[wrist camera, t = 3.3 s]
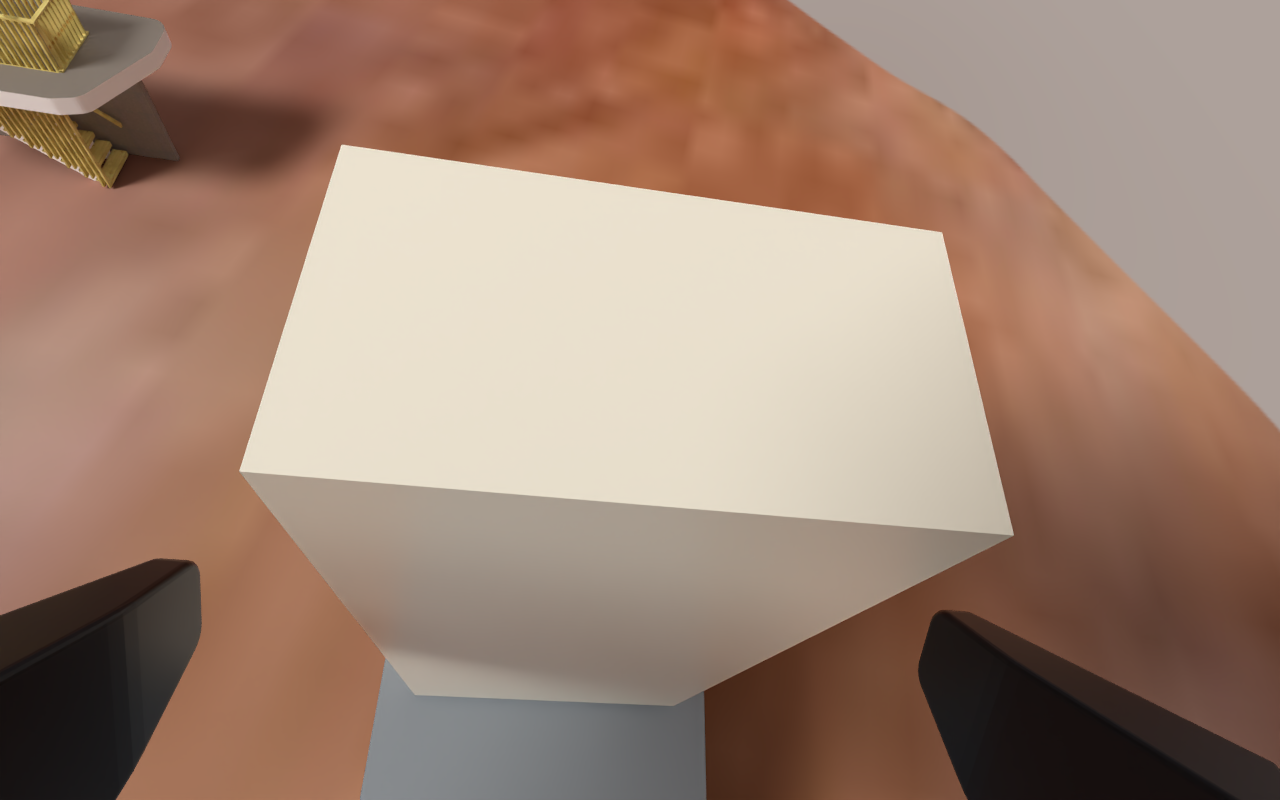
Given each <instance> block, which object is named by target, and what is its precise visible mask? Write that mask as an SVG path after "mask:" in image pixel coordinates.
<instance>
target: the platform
mask: <svg viewBox="0 0 1280 800" xmlns="http://www.w3.org/2000/svg"><path fill="white" fill-rule="evenodd" d="M171 46H172V45H171V42H170V39H169V37H168V35H167V32H166V30H165V28H164V25H163V24H162V23H161V22H159V21H158V20H155V19H151V18H145V17H139V16H134V15H128V14H122V13H116V12H110V11H105V10H99V9H93V8H87V7H82V6H76V5H71V3H70V1H69V0H0V135H5V136H11V138H13V137H14V138H16V139H18V140H20V141H21V142H23V143H25V144H27V145H29V146H30V148H34V149H36V150H38V151H40V152H42V153H44V154H46V155H47V156H48V157H49V158H53V159H55V160H57V161H58V162H60V163H62V164H64V165H66V166H67V167H68V168H71V169H73V170H75V171H77V172H79V173H81V174H83V175H84V176H85V177H86V178H90V179H92V180H94V181H100V183H101V185H102V186H103V187H105V186H106V184H107V185H108V187H109V188H111V187H112V185H113V183H114V181H115V179H116V178H117V176H118V174H119V172H120V170H121V168H122V166H123V164H124V163H125V161H126V159H127V157H128V154H133V155H140V156H146V157H153V158H160V159H167V160H173V161H178V160H179V158H180V157H179V155H178V153H177V151H176V149H175V147H174V145H173V143H172V141H171V139H170V137H169V135H168V133H167V131H166V129H165V127H164V125H163V123H162V121H161V119H160V117H159V115H158V113H157V110H156V108H155V106H154V104H153V102H152V100H151V98H150V96H149V94H148V92H147V90H146V88H145V86H144V84H143V82H142V79H144V78H145V77H147V76H149V75H150V74H152V73H153V72H155V71H156V70H158V69H159V68H160V67H161V65H162V64H163V62H164V60H165V58H166V56H167V54H168V53H169V51H170V49H171ZM44 142H45V143H44ZM45 144H46V145H45ZM65 147H66V148H67V150H66V148H65ZM110 151H111V152H110ZM62 152H63V153H64V154H63V153H62ZM86 152H87V154H86ZM83 156H84V158H85V159H84V158H83ZM104 159H107V160H106V162H105V164H104V166H103V168H101V165H102V163H103V161H104ZM81 162H82V164H81ZM98 171H99V172H100V173H98Z"/></svg>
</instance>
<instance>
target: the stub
mask: <svg viewBox="0 0 1280 800" xmlns="http://www.w3.org/2000/svg"><path fill="white" fill-rule="evenodd" d="M239 472H240V473H241V474H242V475H243V477H244V478H245V479H246V481H247V482H248V483H249V484H250V486H251V487H252V488H253V489H254V491H255V492H256V493H257V495H258V496H259V497H260V498H261V500H262V501H263V502H264V503H265V505H266V506H267V507H268V509H269V510H270V511H271V512H272V514H273V515H274V516H275V517H276V519H277V520H278V521H279V523H280V524H281V525H282V526H283V528H284V529H285V530H286V532H287V533H288V534H289V535H290V537H291V538H292V539H293V540H294V542H295V543H296V544H297V546H298V547H299V548H300V549H301V551H302V552H303V553H304V554H305V556H306V557H307V558H308V560H309V561H310V562H311V563H312V565H313V566H314V567H315V568H316V570H317V571H318V572H319V574H320V575H321V576H322V577H323V579H324V580H325V581H326V582H327V584H328V585H329V586H330V588H331V589H332V590H333V591H334V593H335V594H336V595H337V596H338V598H339V599H340V600H341V602H342V603H343V604H344V605H345V607H346V608H347V609H348V610H349V612H350V613H351V614H352V616H353V617H354V618H355V619H356V621H357V622H358V623H359V624H360V626H361V627H362V628H363V630H364V631H365V632H366V633H367V635H368V636H369V637H370V638H371V640H372V641H373V642H374V644H375V645H376V646H377V647H378V649H379V650H380V651H381V652H382V654H383V655H384V656H385V658H386V659H387V660H388V661H389V663H390V664H391V665H392V667H393V668H394V669H395V670H396V672H397V673H398V674H399V675H400V677H401V678H402V679H403V681H404V682H405V683H406V684H407V686H408V687H409V688H410V689H411V691H412V692H413V693H414V695H425V696H448V697H472V698H495V699H519V700H542V701H566V702H589V703H613V704H637V705H660V706H675V705H677V704H679V703H681V702H683V701H685V700H687V699H689V698H691V697H693V696H695V695H697V694H699V693H701V692H702V691H704V690H706V689H708V688H710V687H712V686H714V685H716V684H718V683H720V682H722V681H724V680H726V679H728V678H730V677H732V676H734V675H736V674H738V673H740V672H742V671H744V670H746V669H748V668H750V667H752V666H754V665H756V664H758V663H760V662H762V661H764V660H766V659H768V658H770V657H772V656H774V655H776V654H778V653H780V652H782V651H784V650H786V649H788V648H790V647H792V646H794V645H796V644H798V643H800V642H802V641H804V640H806V639H808V638H810V637H812V636H814V635H816V634H818V633H820V632H822V631H824V630H826V629H828V628H830V627H832V626H834V625H836V624H838V623H840V622H842V621H844V620H846V619H848V618H850V617H852V616H854V615H856V614H858V613H860V612H862V611H864V610H866V609H868V608H870V607H872V606H874V605H876V604H878V603H880V602H882V601H884V600H886V599H888V598H890V597H892V596H894V595H896V594H898V593H900V592H902V591H904V590H906V589H908V588H910V587H912V586H914V585H916V584H918V583H920V582H922V581H924V580H926V579H928V578H930V577H932V576H934V575H936V574H938V573H940V572H942V571H944V570H946V569H948V568H950V567H952V566H954V565H956V564H958V563H960V562H962V561H964V560H966V559H968V558H970V557H972V556H974V555H976V554H978V553H980V552H982V551H984V550H986V549H988V548H990V547H992V546H994V545H996V544H998V543H1000V542H1002V541H1004V540H1006V539H1008V538H1010V537H1012V536H1014V533H1013V529H1012V525H1011V521H1010V517H1009V512H1008V508H1007V504H1006V500H1005V496H1004V491H1003V487H1002V483H1001V479H1000V475H999V470H998V466H997V462H996V458H995V454H994V449H993V445H992V441H991V437H990V433H989V428H988V424H987V420H986V416H985V412H984V407H983V403H982V399H981V395H980V391H979V386H978V382H977V378H976V374H975V370H974V365H973V361H972V357H971V353H970V349H969V344H968V340H967V336H966V332H965V327H964V323H963V319H962V315H961V311H960V306H959V302H958V298H957V294H956V290H955V285H954V281H953V277H952V273H951V269H950V264H949V260H948V256H947V252H946V248H945V243H944V239H943V235H942V232H935V231H929V230H922V229H915V228H908V227H901V226H894V225H888V224H881V223H874V222H867V221H860V220H853V219H847V218H840V217H833V216H826V215H819V214H812V213H805V212H799V211H792V210H785V209H778V208H771V207H764V206H758V205H751V204H744V203H737V202H730V201H723V200H717V199H710V198H703V197H696V196H689V195H682V194H676V193H669V192H662V191H655V190H648V189H641V188H634V187H628V186H621V185H614V184H607V183H600V182H593V181H587V180H580V179H573V178H566V177H559V176H552V175H546V174H539V173H532V172H525V171H518V170H511V169H505V168H498V167H491V166H484V165H477V164H470V163H464V162H457V161H450V160H443V159H436V158H429V157H422V156H416V155H409V154H402V153H395V152H388V151H381V150H375V149H368V148H361V147H354V146H347V145H341V148H340V151H339V154H338V158H337V161H336V164H335V167H334V170H333V174H332V177H331V180H330V183H329V186H328V190H327V193H326V196H325V199H324V202H323V206H322V209H321V212H320V215H319V218H318V222H317V225H316V228H315V231H314V234H313V238H312V241H311V244H310V247H309V250H308V254H307V257H306V260H305V263H304V266H303V270H302V273H301V276H300V279H299V282H298V286H297V289H296V292H295V295H294V298H293V302H292V305H291V308H290V311H289V314H288V318H287V321H286V324H285V327H284V330H283V333H282V337H281V340H280V343H279V346H278V349H277V353H276V356H275V359H274V362H273V365H272V369H271V372H270V375H269V378H268V381H267V385H266V388H265V391H264V394H263V397H262V401H261V404H260V407H259V410H258V413H257V417H256V420H255V423H254V426H253V429H252V433H251V436H250V439H249V442H248V445H247V449H246V452H245V455H244V458H243V461H242V465H241V468H240V471H239Z"/></svg>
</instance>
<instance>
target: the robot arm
mask: <svg viewBox="0 0 1280 800" xmlns="http://www.w3.org/2000/svg"><path fill="white" fill-rule="evenodd" d="M201 624H202V622H201V592H200V572H199V569H198V566H197V565H196V564H195V563H194V562H193V561H189V560H177V559H162V558H160V559H153V560H150V561H147V562H144V563H142V564H139V565H136V566H133V567H131V568H128V569H125V570H123V571H120V572H117V573H114V574H112V575H109V576H106V577H103V578H101V579H98V580H95V581H93V582H90V583H87V584H84V585H82V586H79V587H76V588H73V589H71V590H68V591H65V592H63V593H60V594H57V595H54V596H52V597H49V598H46V599H43V600H41V601H38V602H35V603H33V604H30V605H27V606H24V607H22V608H19V609H16V610H13V611H11V612H8V613H5V614H3V615H0V800H116V798H117V797H118V795H119V794H120V792H121V791H122V789H123V787H124V786H125V784H126V782H127V781H128V779H129V777H130V776H131V774H132V772H133V771H134V769H135V767H136V765H137V763H138V762H139V760H140V758H141V756H142V754H143V752H144V750H145V748H146V746H147V744H148V742H149V740H150V738H151V736H152V734H153V732H154V730H155V728H156V726H157V724H158V722H159V720H160V718H161V716H162V714H163V712H164V711H165V709H166V707H167V705H168V703H169V701H170V699H171V697H172V695H173V693H174V691H175V689H176V687H177V685H178V683H179V681H180V679H181V677H182V675H183V673H184V671H185V669H186V667H187V665H188V663H189V661H190V659H191V657H192V655H193V653H194V651H195V649H196V646H197V644H198V641H199V638H200V633H201ZM918 673H919V680H920V684H921V687H922V689H923V692H924V694H925V697H926V699H927V702H928V704H929V707H930V709H931V712H932V714H933V717H934V719H935V722H936V724H937V727H938V729H939V732H940V734H941V737H942V739H943V742H944V744H945V747H946V749H947V752H948V754H949V757H950V759H951V762H952V765H953V767H954V770H955V772H956V775H957V777H958V779H959V781H960V784H961V786H962V788H963V791H964V793H965V795H966V797H967V799H968V800H1280V769H1279V768H1278V767H1277V766H1276V765H1275V764H1274V763H1273V762H1271V761H1269V760H1267V759H1265V758H1263V757H1261V756H1259V755H1256V754H1254V753H1252V752H1250V751H1248V750H1246V749H1244V748H1242V747H1240V746H1238V745H1236V744H1234V743H1232V742H1230V741H1228V740H1226V739H1224V738H1222V737H1220V736H1218V735H1216V734H1214V733H1212V732H1210V731H1208V730H1206V729H1204V728H1202V727H1200V726H1198V725H1196V724H1194V723H1192V722H1190V721H1188V720H1186V719H1184V718H1182V717H1180V716H1178V715H1176V714H1174V713H1172V712H1170V711H1168V710H1166V709H1164V708H1162V707H1160V706H1158V705H1156V704H1154V703H1152V702H1150V701H1148V700H1146V699H1144V698H1142V697H1140V696H1138V695H1136V694H1134V693H1132V692H1130V691H1128V690H1126V689H1124V688H1122V687H1120V686H1118V685H1115V684H1113V683H1111V682H1109V681H1107V680H1105V679H1103V678H1101V677H1099V676H1097V675H1095V674H1093V673H1091V672H1089V671H1087V670H1085V669H1083V668H1081V667H1079V666H1077V665H1075V664H1073V663H1071V662H1069V661H1067V660H1065V659H1063V658H1061V657H1059V656H1057V655H1055V654H1053V653H1051V652H1049V651H1047V650H1045V649H1043V648H1041V647H1039V646H1037V645H1035V644H1033V643H1031V642H1029V641H1027V640H1025V639H1023V638H1021V637H1019V636H1017V635H1015V634H1013V633H1011V632H1009V631H1007V630H1005V629H1003V628H1001V627H999V626H997V625H995V624H993V623H991V622H989V621H987V620H985V619H983V618H981V617H979V616H977V615H974V614H972V613H970V612H965V611H952V610H941V611H939V612H937V613H936V614H935V615H934V616H933V618H932V620H931V623H930V626H929V630H928V633H927V637H926V640H925V644H924V647H923V650H922V654H921V657H920V661H919V668H918Z"/></svg>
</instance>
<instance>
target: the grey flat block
mask: <svg viewBox="0 0 1280 800" xmlns="http://www.w3.org/2000/svg"><path fill="white" fill-rule="evenodd" d="M360 800H706V761H705V713H704V691H702V692H701V693H699V694H697V695H695V696H693V697H691V698H689V699H687V700H685V701H683V702H681V703H679V704H677V705H675V706H660V705H637V704H613V703H589V702H566V701H542V700H519V699H495V698H472V697H448V696H425V695H414V693H413V692H412V691H411V689H410V688H409V687H408V686H407V684H406V683H405V682H404V681H403V679H402V678H401V677H400V675H399V674H398V673H397V672H396V670H395V669H394V668H393V667H392V665H391V664H390V663H389V661H388V660H387V659H385V664H384V669H383V675H382V680H381V686H380V691H379V697H378V702H377V708H376V713H375V719H374V724H373V730H372V735H371V741H370V746H369V752H368V757H367V763H366V768H365V774H364V779H363V785H362V790H361V796H360Z"/></svg>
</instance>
